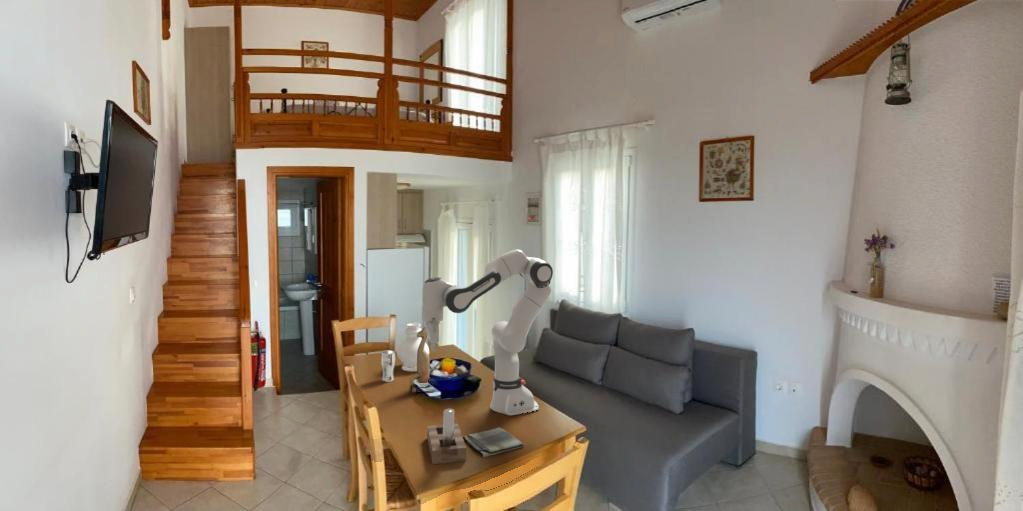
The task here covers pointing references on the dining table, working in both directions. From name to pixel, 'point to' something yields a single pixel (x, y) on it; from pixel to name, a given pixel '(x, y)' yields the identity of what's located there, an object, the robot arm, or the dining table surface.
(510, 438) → the dish towel
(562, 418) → the dining table surface
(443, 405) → the dining table surface
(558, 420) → the dining table surface
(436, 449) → the bore block
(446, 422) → the pin
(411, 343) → the decorative vase
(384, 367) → the beer glass
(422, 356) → the bird sculpture
